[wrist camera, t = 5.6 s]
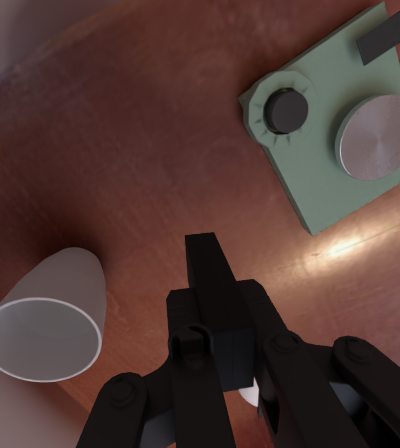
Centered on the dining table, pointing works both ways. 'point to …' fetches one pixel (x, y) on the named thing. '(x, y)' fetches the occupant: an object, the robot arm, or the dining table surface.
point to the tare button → (286, 111)
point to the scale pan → (372, 117)
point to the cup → (54, 318)
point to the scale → (323, 120)
